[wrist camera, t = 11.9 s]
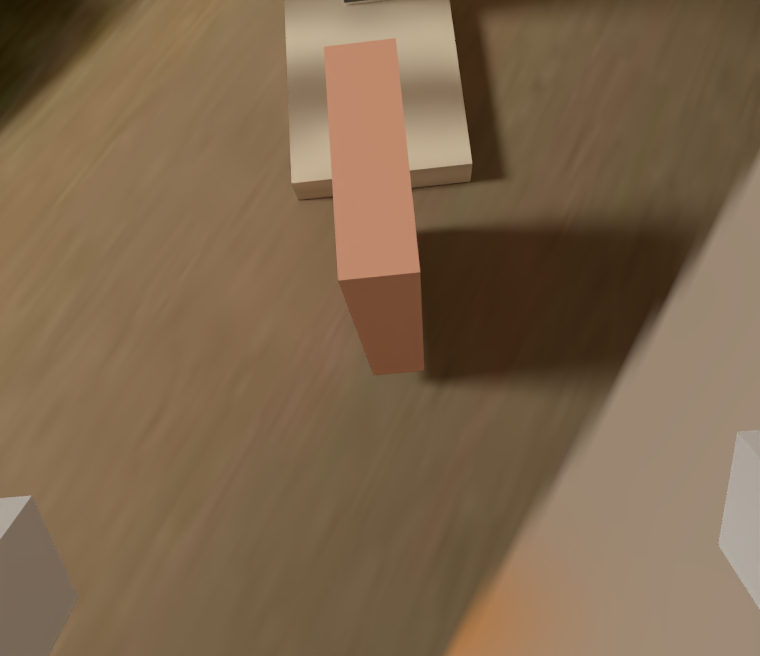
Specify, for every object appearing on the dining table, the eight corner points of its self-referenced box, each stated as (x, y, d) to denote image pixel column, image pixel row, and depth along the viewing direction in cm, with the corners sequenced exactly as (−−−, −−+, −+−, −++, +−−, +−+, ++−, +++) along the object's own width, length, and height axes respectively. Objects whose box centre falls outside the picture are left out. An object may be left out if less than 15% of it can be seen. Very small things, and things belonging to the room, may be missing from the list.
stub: (424, 370, 25) (420, 272, 15) (373, 375, 25) (338, 280, 15) (408, 211, 27) (395, 38, 17) (361, 215, 27) (324, 46, 18)
